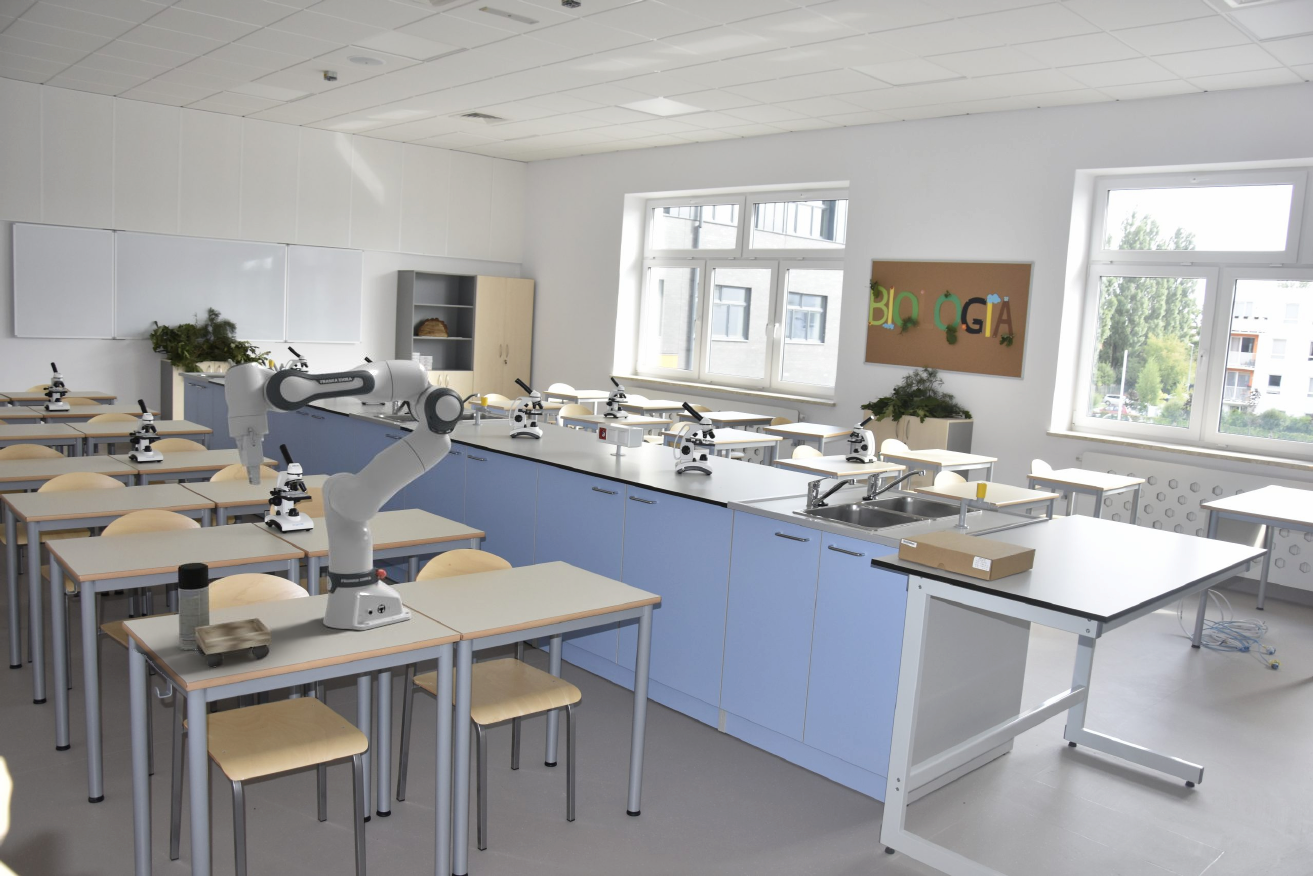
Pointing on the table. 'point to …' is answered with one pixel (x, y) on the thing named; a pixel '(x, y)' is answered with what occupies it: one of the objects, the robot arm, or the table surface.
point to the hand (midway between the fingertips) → (254, 484)
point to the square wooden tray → (232, 639)
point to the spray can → (192, 602)
